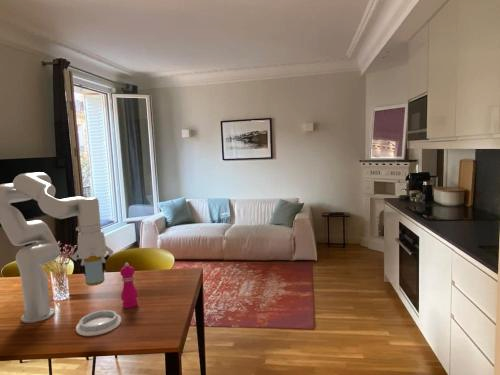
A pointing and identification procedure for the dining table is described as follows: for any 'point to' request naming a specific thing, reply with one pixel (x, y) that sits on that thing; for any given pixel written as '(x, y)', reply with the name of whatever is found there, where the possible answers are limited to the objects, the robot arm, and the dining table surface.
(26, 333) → the dining table surface
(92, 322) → the collar base
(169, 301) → the dining table surface
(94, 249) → the bottle
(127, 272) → the pepper mill
